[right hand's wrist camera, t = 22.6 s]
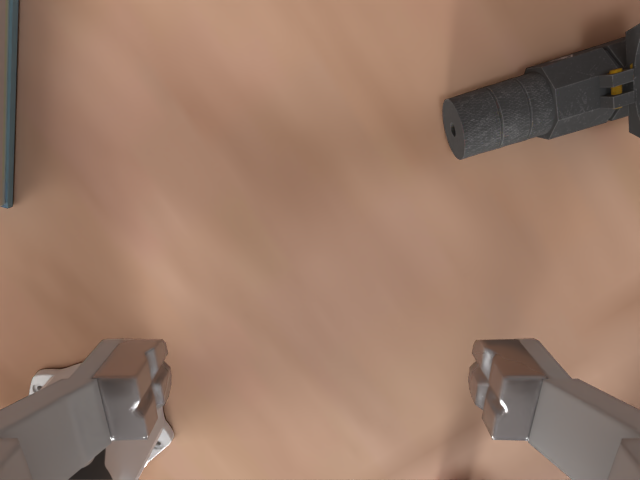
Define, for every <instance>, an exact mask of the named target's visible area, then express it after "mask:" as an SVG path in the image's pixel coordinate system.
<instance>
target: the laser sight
mask: <svg viewBox="0 0 640 480" xmlns="http://www.w3.org/2000/svg"><path fill="white" fill-rule="evenodd" d="M626 116H629V132H630V133H632V134H634V135H636V136H638V137H639V138H640V24H638V25H637V26H635V27H633V28H632V29H630V30H628V31H627V32H626V37H623V38H620V39H617V40H614V41H611V42H608V43H604V44H601V45H598V46H595V47H592V48H589V49H586V50H583V51H579V52H576V53H573V54H570V55H567V56H564V57H561V58H557V59H554V60H551V61H548V62H545V63H542V64H539V65H536V66H532V67H529V68H526V71H525V74H524V75H522V76H519V77H515V78H511V79H508V80H506V81H503V82H500V83H496V84H493V85H490V86H486V87H483V88H480V89H477V90H474V91H471V92H468V93H465V94H462V95H459V96H456V97H453V98H449V99H446V100H445V101H444V103H443V123H444V128H445V133H446V137H447V140H448V143H449V145H450V148H451V150H452V152H453V154H454V155H455V157H456V158H457V159H459V160H461V159H464V158H467V157H470V156H474V155H477V154H480V153H484V152H487V151H491V150H494V149H498V148H501V147H504V146H507V145H510V144H514V143H517V142H521V141H524V140H527V139H530V138H533V137H539V138H544V139H548V140H549V139H552V138H556V137H559V136H562V135H566V134H569V133H572V132H576V131H579V130H582V129H586V128H589V127H592V126H596V125H599V124H602V123H606V122H607V121H608V120H609V121H612V120H616V119H619V118H623V117H626Z"/></svg>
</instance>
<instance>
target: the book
mask: <svg viewBox="0 0 640 480" xmlns="http://www.w3.org/2000/svg"><path fill="white" fill-rule="evenodd" d="M17 34H18V0H0V207H4V208H10V207H12V206H13V172H14V137H15V103H16V69H17Z"/></svg>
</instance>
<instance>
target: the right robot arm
mask: <svg viewBox="0 0 640 480" xmlns="http://www.w3.org/2000/svg"><path fill="white" fill-rule="evenodd" d="M167 354H168V351H167V346H166V342H165V341H164V340H163V339H104V340H102V341H101V342H100V343H99V344H98V345H97V346H96V347H95V349H94V350H93V351H92V352H91V353H90V354H89V355H88V357H87V358H86V359H85V360H84V361H83V362H82V363H79V364H76V365H73V366H70V367H67V368H64V369H42V370H39V371H38V372H37V373H36V374H35V375H34V377H33V378H32V381H31V386H30V391H29V396H27V397H25V398H23V399H21V400H19V401H17V402H15V403H13V404H11V405H9V406H7V407H5V408H3V409H1V410H0V480H138V478H139V477H140V475H141V473H142V471H143V469H144V467H145V466H146V465H147V463H148V462H149V461H150V460H151V459H153V458H154V457H155V456H156V455H157V454H159V453H160V452H161V451H162V450H163V449H164V448H166V447H167V446H168V445H169V444H170V443H171V441H172V439H173V438H174V432H173V430H172V428H171V427H170V425H169V424H168V423H167V421H166V420H165V417H164V412H163V405H165V403H166V401H167V399H168V397H169V393H170V388H171V369H170V367H169V366H168V365H167V364H166V363H165V362H164V360H165V358H166V356H167ZM472 354H473V356H474V358H475V360H476V362H475V363H474V364H473V365H472V366H471V367H470V369H469V377H468V380H469V390H470V393H471V397H472V399H473V401H474V403H475V405H477V406H478V407H479V408H481V409H482V410H483V414H482V419H483V421H484V423H485V425H486V427H487V429H488V431H489V433H490V435H491V437H492V439H493V440H524V441H528V443H529V444H531V445H532V446H533V447H534V448H535V449H537V450H538V451H539V452H540V453H541V454H542V455H544V456H545V457H546V458H547V459H548V460H550V461H551V462H552V463H553V464H554V465H555V466H557V467H558V468H559V469H560V470H561V471H563V472H564V473H565V474H566V475H567V476H568V477H570V478H571V479H572V480H640V410H639V409H637V408H635V407H633V406H631V405H629V404H627V403H625V402H623V401H621V400H619V399H617V398H615V397H613V396H611V395H609V394H607V393H605V392H603V391H601V390H599V389H597V388H595V387H593V386H591V385H589V384H587V383H585V382H583V381H581V380H580V379H572V378H571V377H570V376H569V375H568V374H567V373H566V372H565V370H564V369H563V368H562V367H561V366H560V365H559V364H558V362H557V361H556V360H555V359H554V358H553V357H552V356H551V354H550V353H549V352H548V351H547V350H546V349H545V348H544V346H543V345H542V344H541V343H540V342H539V341H538V340H536V339H534V338H528V339H505V340H476V341H475V343H474V345H473V350H472Z"/></svg>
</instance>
